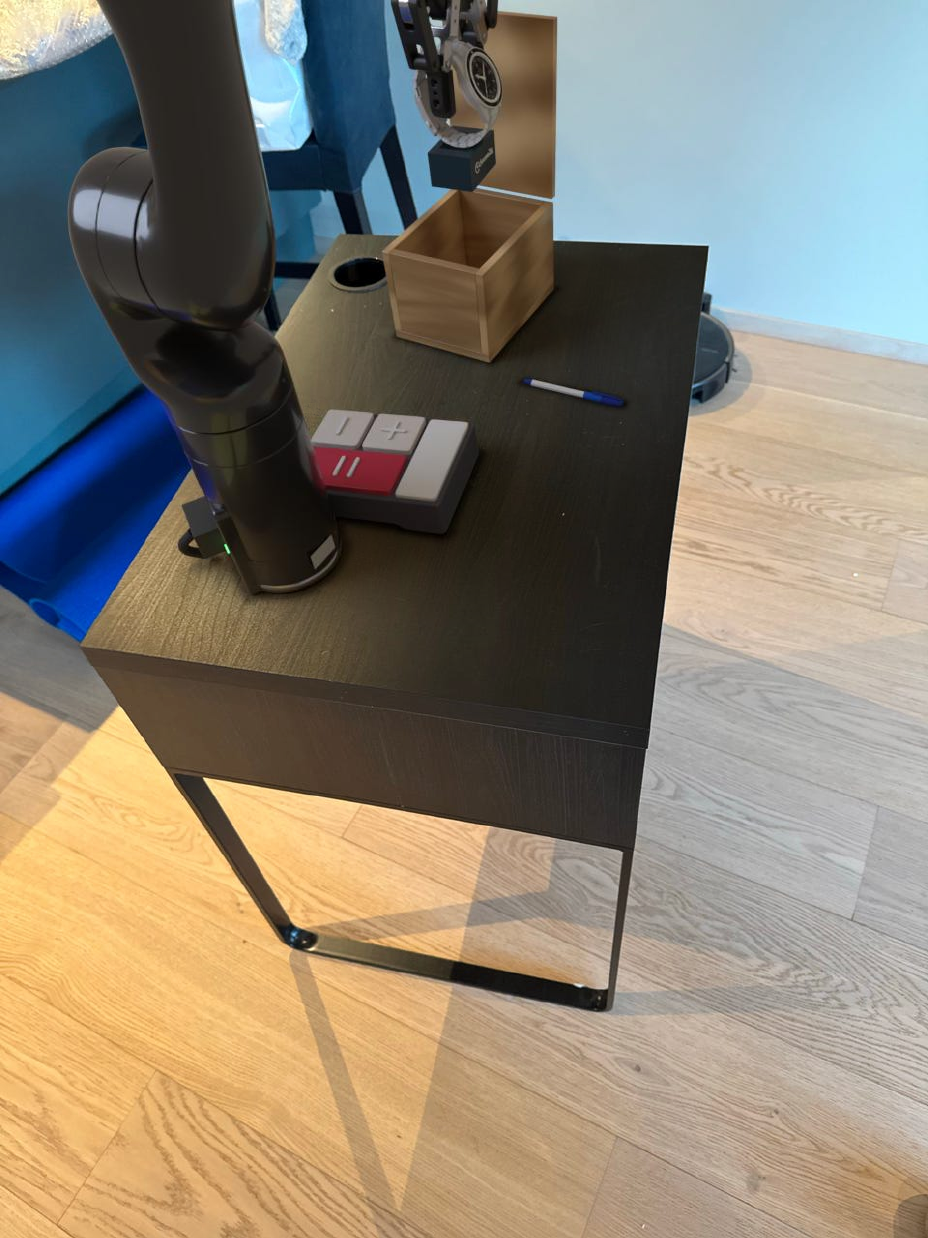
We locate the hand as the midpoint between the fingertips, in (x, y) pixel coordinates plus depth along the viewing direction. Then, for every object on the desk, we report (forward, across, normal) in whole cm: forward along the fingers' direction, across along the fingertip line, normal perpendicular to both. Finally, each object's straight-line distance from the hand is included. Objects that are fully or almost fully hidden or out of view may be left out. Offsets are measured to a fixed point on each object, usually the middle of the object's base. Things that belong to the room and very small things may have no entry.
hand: (459, 102), depth 76 cm
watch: (+7, 0, 0) cm, 7 cm away
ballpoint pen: (+22, +8, +16) cm, 28 cm away
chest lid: (+3, -8, 0) cm, 8 cm away
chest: (+22, 0, 0) cm, 22 cm away
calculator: (+22, +27, +6) cm, 35 cm away
